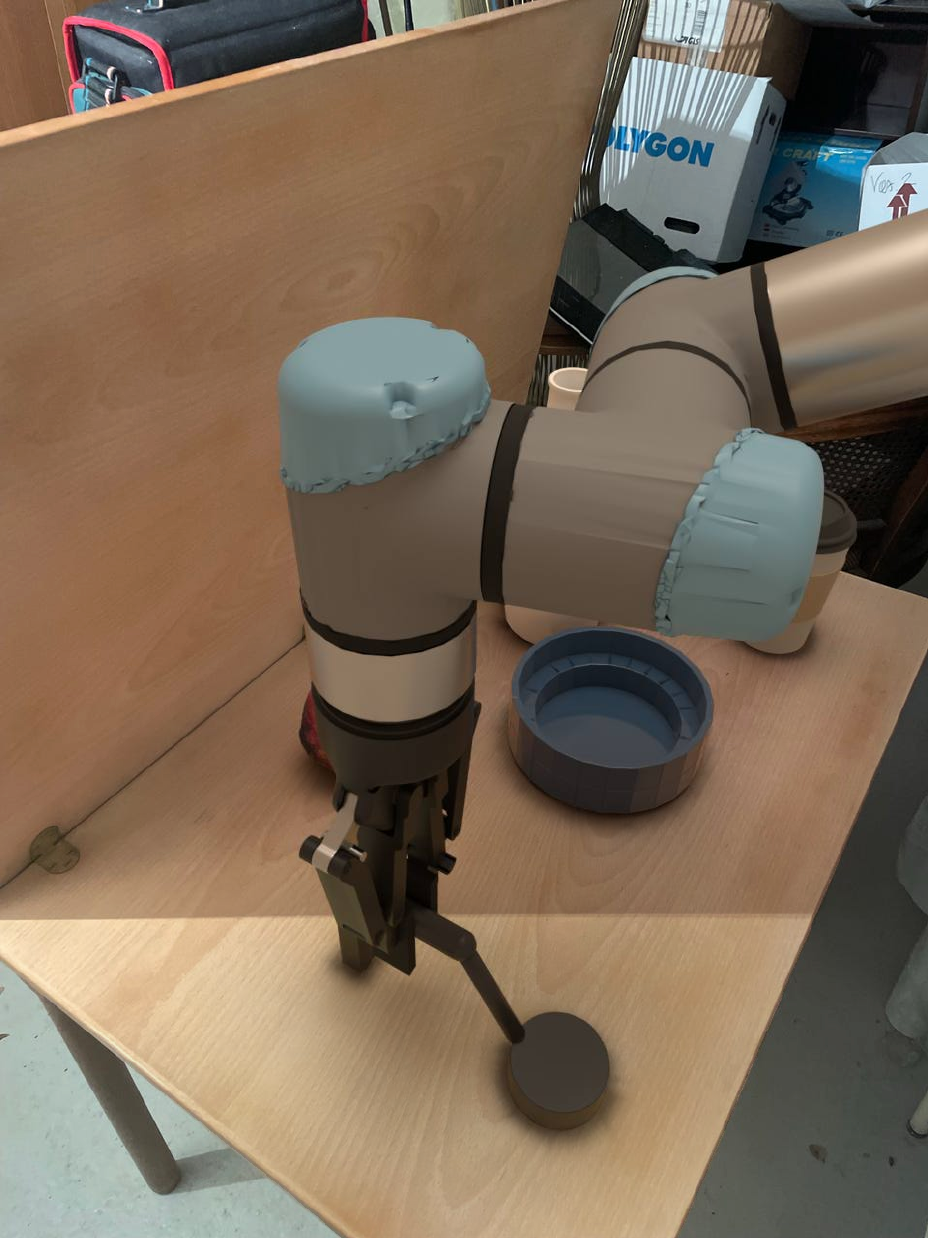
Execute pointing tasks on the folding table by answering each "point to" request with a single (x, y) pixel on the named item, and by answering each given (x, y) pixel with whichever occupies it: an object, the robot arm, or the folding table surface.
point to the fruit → (312, 735)
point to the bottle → (537, 622)
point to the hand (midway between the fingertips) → (405, 944)
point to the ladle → (518, 1032)
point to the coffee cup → (818, 574)
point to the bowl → (609, 718)
